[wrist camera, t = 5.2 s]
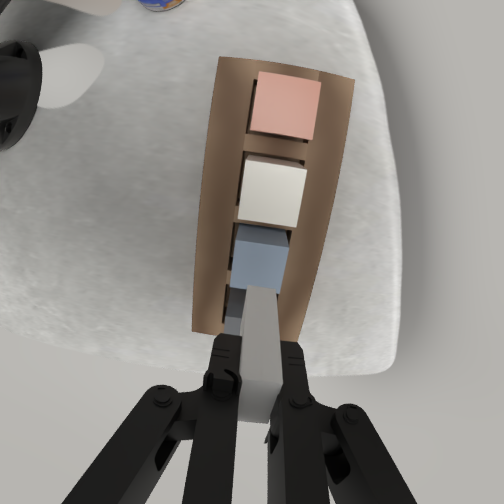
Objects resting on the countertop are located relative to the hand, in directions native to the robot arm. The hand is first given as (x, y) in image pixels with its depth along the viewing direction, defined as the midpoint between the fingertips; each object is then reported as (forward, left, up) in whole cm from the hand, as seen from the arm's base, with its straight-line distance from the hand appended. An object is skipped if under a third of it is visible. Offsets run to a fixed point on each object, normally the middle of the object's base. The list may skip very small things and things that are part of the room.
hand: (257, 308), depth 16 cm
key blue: (0, -1, -12) cm, 12 cm away
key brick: (0, +11, -11) cm, 15 cm away
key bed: (0, +2, -14) cm, 14 cm away
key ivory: (0, +5, -11) cm, 12 cm away
